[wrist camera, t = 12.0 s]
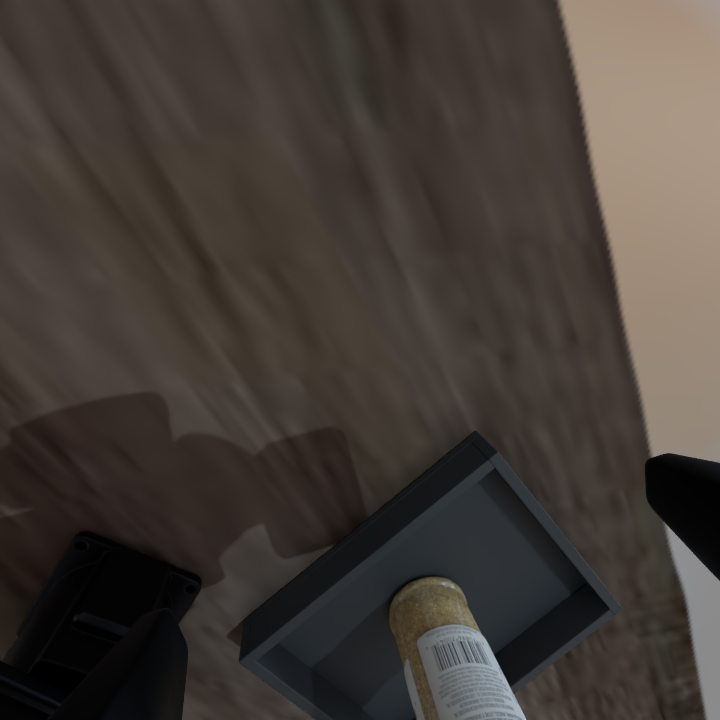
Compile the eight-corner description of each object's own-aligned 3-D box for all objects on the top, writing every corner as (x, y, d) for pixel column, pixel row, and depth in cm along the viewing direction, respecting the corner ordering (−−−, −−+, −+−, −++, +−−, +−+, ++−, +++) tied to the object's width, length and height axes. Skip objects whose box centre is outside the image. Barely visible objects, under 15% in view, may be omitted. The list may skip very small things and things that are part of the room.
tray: (390, 735, 27) (400, 782, 24) (243, 619, 23) (237, 663, 20) (592, 575, 26) (623, 609, 24) (476, 430, 22) (498, 451, 20)
